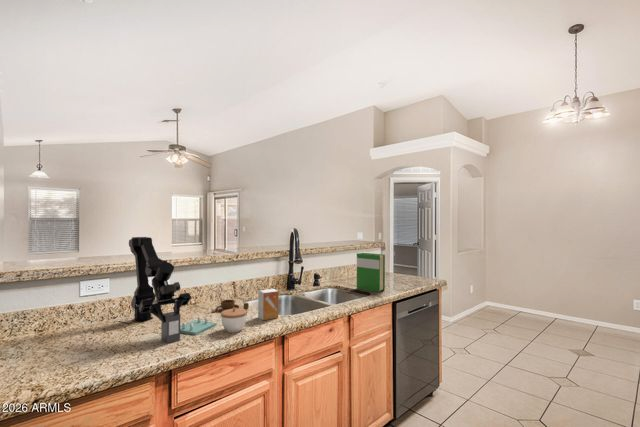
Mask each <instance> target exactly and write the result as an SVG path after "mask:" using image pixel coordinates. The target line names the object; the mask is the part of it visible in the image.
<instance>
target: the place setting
mask: <svg viewBox="0 0 640 427" xmlns="http://www.w3.org/2000/svg"><path fill="white" fill-rule="evenodd" d="M233 308H235V309H240V305H238V304H235V300H234V299H222V300H221V301H220V305H218V306H216V307H215V310H216V311H215V310H213V309H211V311H210V313H215V312H218V313H221V312H222V311H224V310H228V309H233ZM243 309H244V310H246V311H247V312H248V309H249V303H248V302H244V303H243ZM247 315H248V313H247V314H246V316H247Z"/></svg>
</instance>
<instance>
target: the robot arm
mask: <svg viewBox="0 0 640 427" xmlns="http://www.w3.org/2000/svg"><path fill="white" fill-rule="evenodd" d="M128 246H129V248H130V252H131V253H132V254H133V256H134V258H135V260H134V261H135V269H136V270H135V271H136V272H135V273H136V284H137V286H136V289H135V291H134V292H133V297H132V300H131V301H130V306H131V308H132V309H133V310H134V317H133V319H131V322H138V323H144V322H147V321H149V320H152V319H154V317H153V316H152V315H154V316H155V317H156V318H157V319H158V320H160V321H161V323H162V322H163V323H164V322H165V319H164V316H163V314H164V312H163V311H162V308H161V307H162V306H166V305H173V308H172V309H173V312H174V311H175V312H176V313H178V314H180V310H181V307H182V306H184V307H185V306H187V305H188V304H189V302H190V301H191V298H192V295H191V293H190V292H183V293H179V295H178V297H175V293H177V291H180V290H181V283H180V282H179V281H176V282H175V281H174V283H172V284H169V280H170V279H171V278H172V275H173V272H174V271H175V270H174V269H175V266H174V265H173V264H172V263H170V262H168V261H167V260H163V259H161V258H160V257H159V256H158V255H157V252H156V250H155V247H154V244H153V239H152V237H148V236H134V237H133V236H132V237H131V239H129V240H128ZM149 278H152V279H151V285H150V282H149ZM173 297H174V298H173Z"/></svg>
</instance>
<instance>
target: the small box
mask: <svg viewBox="0 0 640 427" xmlns="http://www.w3.org/2000/svg"><path fill="white" fill-rule="evenodd" d="M279 296H280V295H279V290H277V289H275V288H269V289H267V288H266V289H261V290H260V289H259V290H258V296H257V297H258V298H257V302H258V304H257V305H258V306H257V307H258V308H257V318H259V319H261V320H262V321H266V320H271V319H279V302H280V301H279Z"/></svg>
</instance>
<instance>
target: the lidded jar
mask: <svg viewBox="0 0 640 427" xmlns="http://www.w3.org/2000/svg"><path fill="white" fill-rule="evenodd" d="M223 310H224V309H223ZM246 310H247V309H244V308H239V309H236V307H233V308H232V309H228V310H224V311H222V312H220V316H221V317H220V318H221V319H220V321H221V324H222V327H223V329H225V331H226V332H228V333H237V332H240V331H241V330H242V329H243V327H245V325H246V322H247V315H248V310H247V311H246ZM246 314H247V315H246Z"/></svg>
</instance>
